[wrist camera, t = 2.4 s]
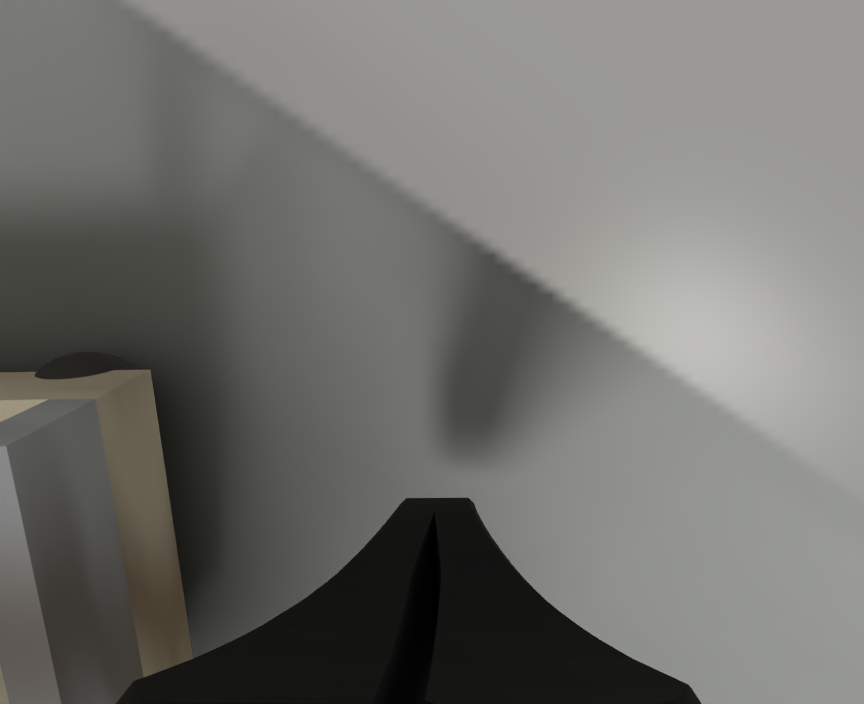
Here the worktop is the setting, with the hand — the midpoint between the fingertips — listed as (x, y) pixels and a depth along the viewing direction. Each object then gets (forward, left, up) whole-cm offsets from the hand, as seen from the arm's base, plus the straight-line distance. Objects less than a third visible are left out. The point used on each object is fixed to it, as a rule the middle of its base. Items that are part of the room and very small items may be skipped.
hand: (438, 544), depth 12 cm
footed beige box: (0, +10, -2) cm, 10 cm away
